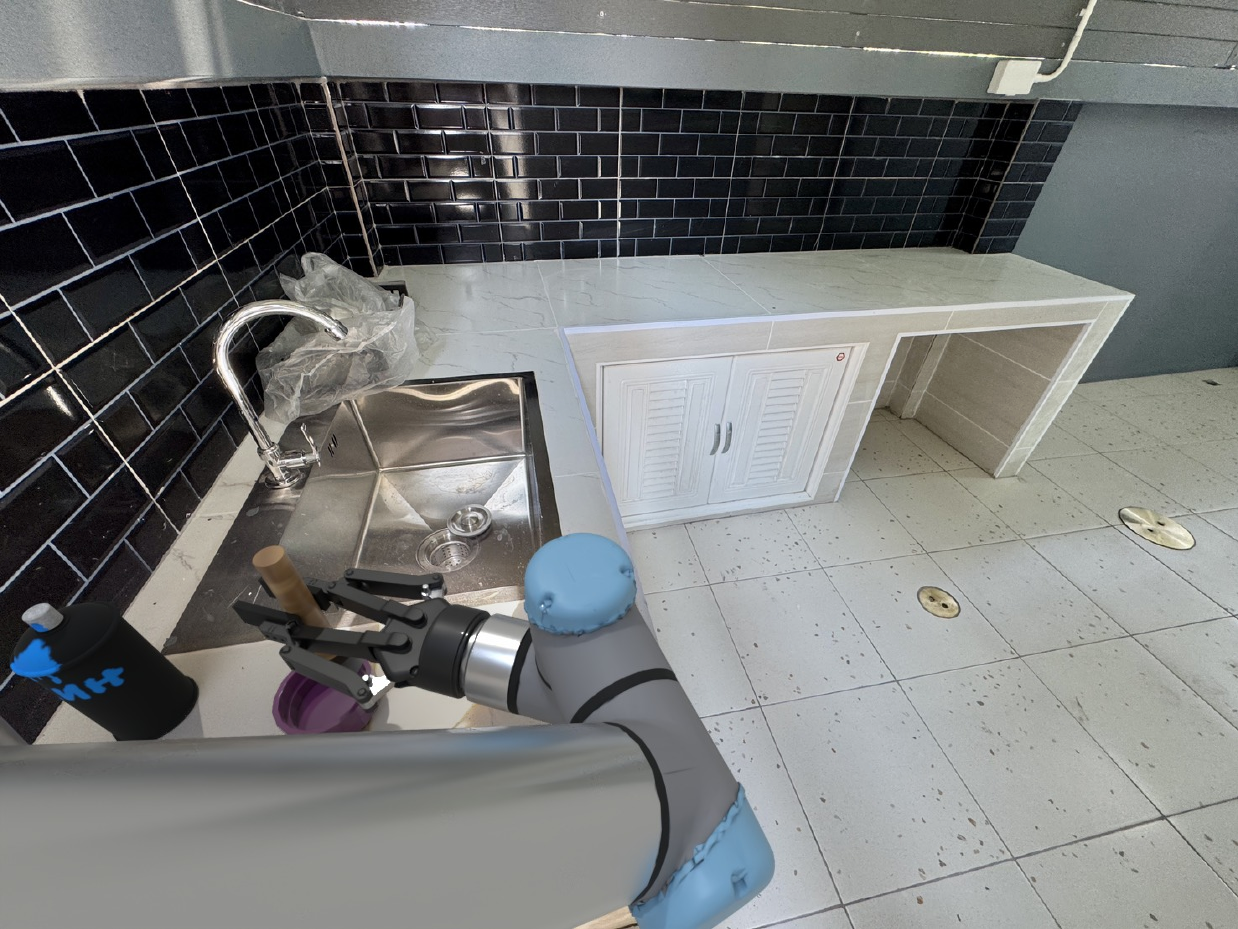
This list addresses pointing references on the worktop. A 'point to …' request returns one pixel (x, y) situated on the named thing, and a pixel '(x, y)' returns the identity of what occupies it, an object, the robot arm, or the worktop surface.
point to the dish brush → (295, 595)
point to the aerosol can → (103, 669)
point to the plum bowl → (317, 706)
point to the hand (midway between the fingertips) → (254, 598)
